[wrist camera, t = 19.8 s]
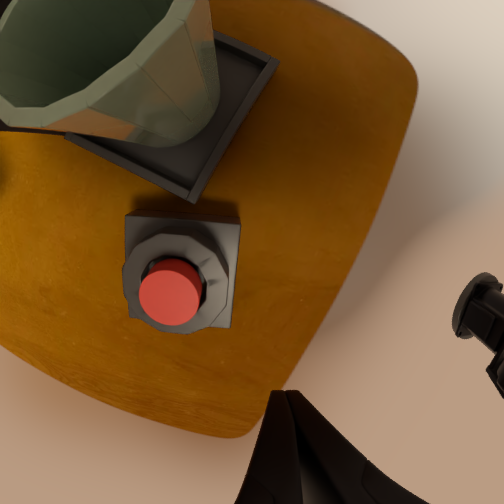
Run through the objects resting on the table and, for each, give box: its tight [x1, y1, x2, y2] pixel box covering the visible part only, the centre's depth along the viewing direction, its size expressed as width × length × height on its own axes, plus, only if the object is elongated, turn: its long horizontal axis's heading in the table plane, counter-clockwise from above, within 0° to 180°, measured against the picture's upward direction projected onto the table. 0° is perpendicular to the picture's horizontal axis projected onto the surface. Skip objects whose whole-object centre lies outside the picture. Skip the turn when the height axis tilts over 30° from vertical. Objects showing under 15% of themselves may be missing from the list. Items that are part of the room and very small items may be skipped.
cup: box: [0, 0, 221, 148], centre depth 9 cm, size 7×7×12 cm
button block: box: [122, 209, 241, 334], centre depth 17 cm, size 7×7×4 cm
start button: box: [139, 259, 202, 325], centre depth 14 cm, size 3×3×2 cm
